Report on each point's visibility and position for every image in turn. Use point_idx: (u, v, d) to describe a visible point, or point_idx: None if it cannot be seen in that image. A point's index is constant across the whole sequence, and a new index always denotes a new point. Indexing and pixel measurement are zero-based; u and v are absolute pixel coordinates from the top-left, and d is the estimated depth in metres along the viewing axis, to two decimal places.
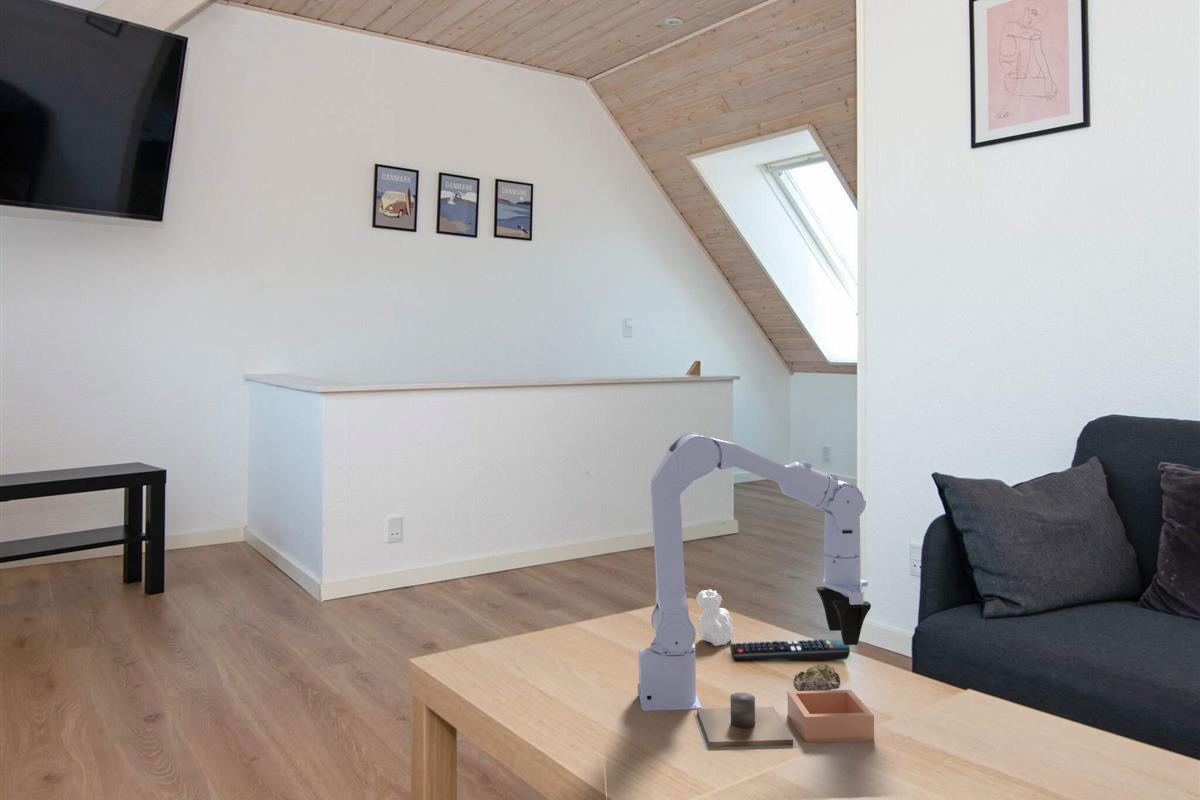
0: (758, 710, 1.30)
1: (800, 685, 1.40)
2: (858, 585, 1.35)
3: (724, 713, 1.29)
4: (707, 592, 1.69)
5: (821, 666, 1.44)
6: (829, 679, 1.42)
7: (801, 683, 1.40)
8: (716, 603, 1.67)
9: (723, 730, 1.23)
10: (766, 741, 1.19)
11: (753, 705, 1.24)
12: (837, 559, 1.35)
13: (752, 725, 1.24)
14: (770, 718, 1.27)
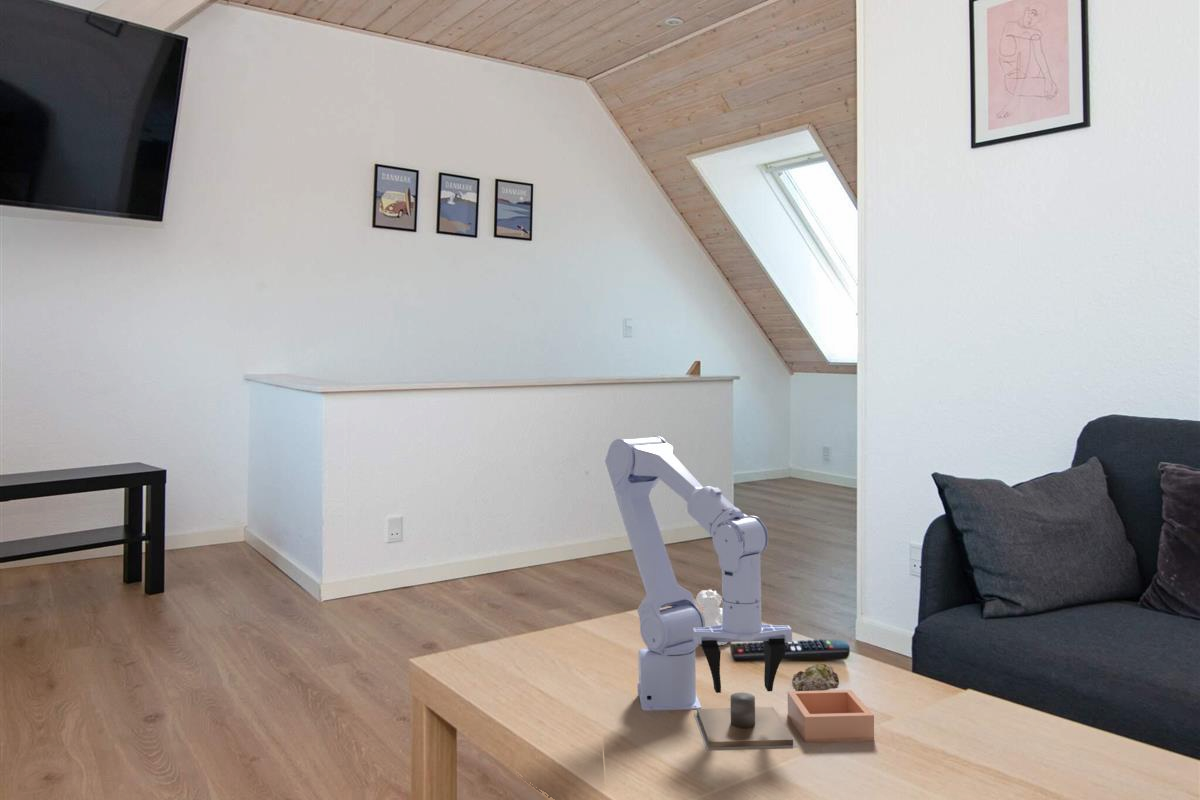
0: (758, 710, 1.30)
1: (798, 685, 1.40)
2: (727, 633, 1.23)
3: (724, 713, 1.29)
4: (707, 592, 1.69)
5: (820, 665, 1.44)
6: (828, 679, 1.43)
7: (799, 683, 1.40)
8: (716, 603, 1.67)
9: (723, 730, 1.23)
10: (766, 741, 1.19)
11: (753, 705, 1.24)
12: (723, 598, 1.26)
13: (752, 725, 1.24)
14: (770, 718, 1.27)
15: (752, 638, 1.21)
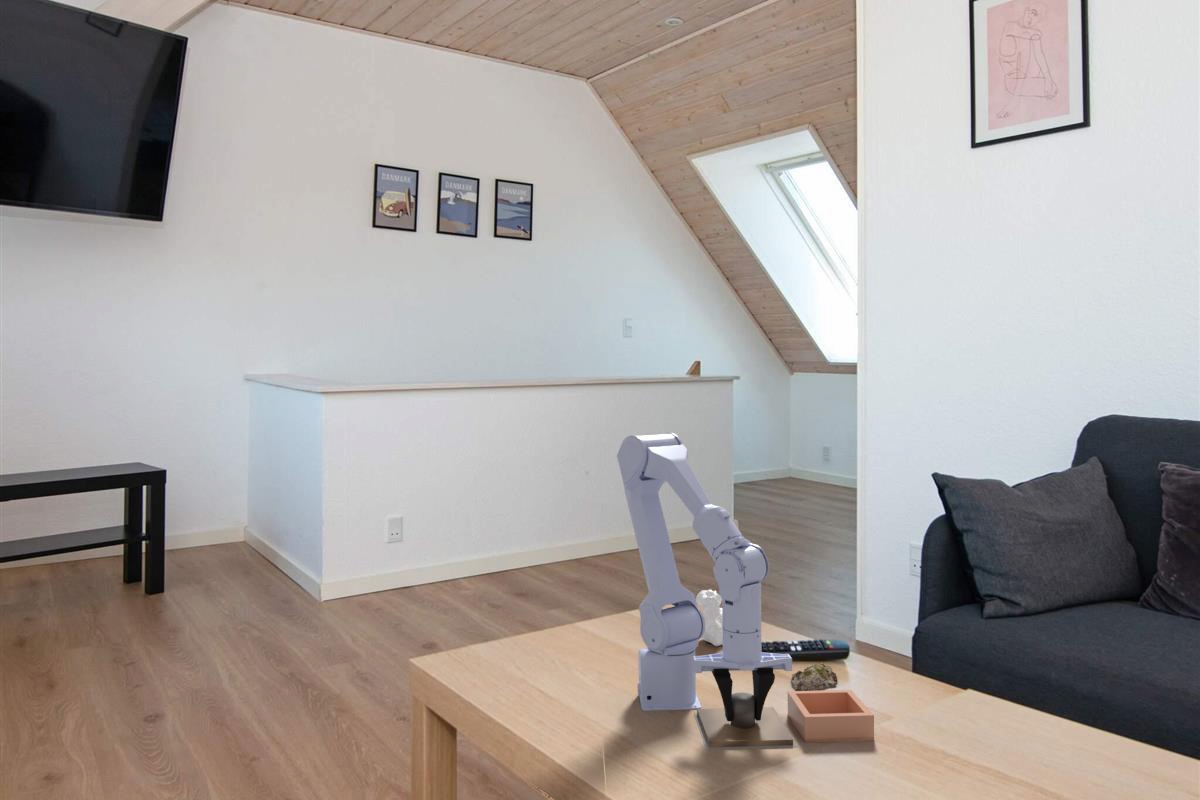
0: None
1: (797, 684, 1.40)
2: (728, 662, 1.23)
3: (724, 713, 1.29)
4: (707, 592, 1.69)
5: (818, 665, 1.44)
6: (826, 678, 1.43)
7: (798, 682, 1.40)
8: (716, 603, 1.67)
9: (723, 730, 1.23)
10: (766, 741, 1.19)
11: (753, 705, 1.24)
12: None
13: (752, 725, 1.24)
14: (770, 718, 1.27)
15: (752, 668, 1.21)
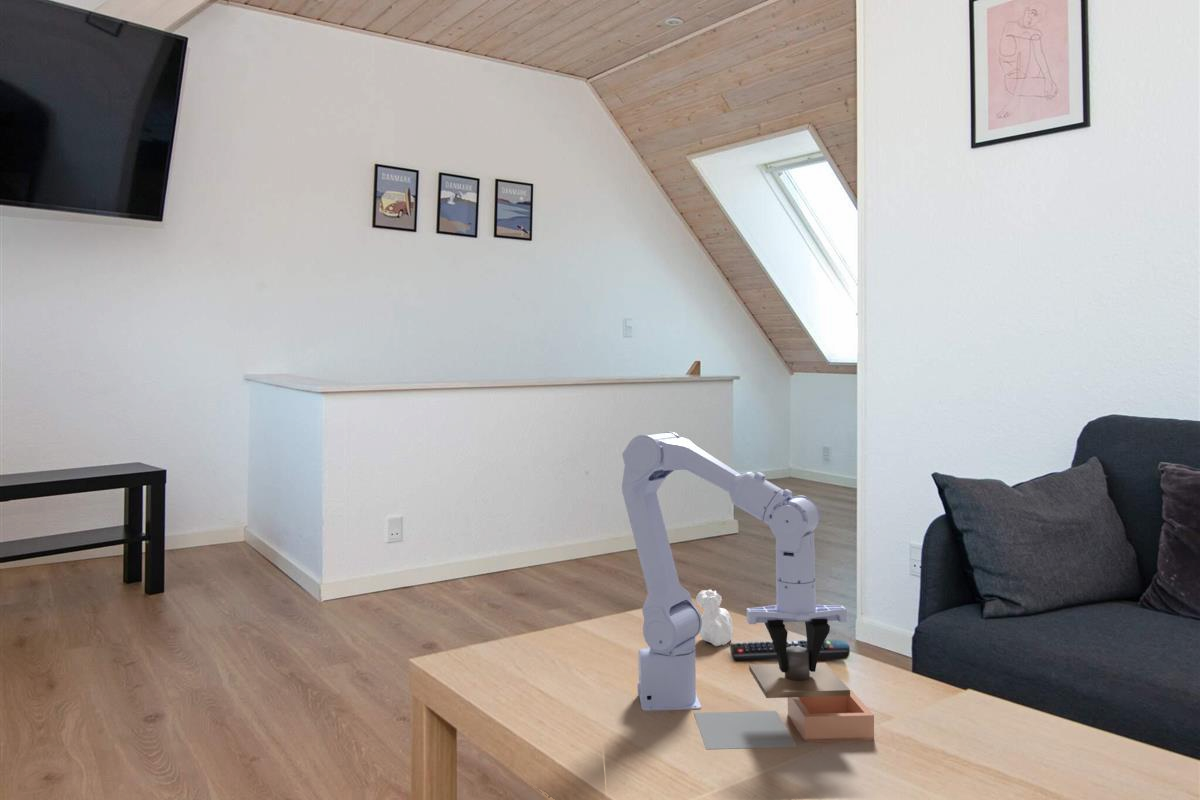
0: None
1: None
2: (782, 613, 1.23)
3: (777, 668, 1.29)
4: (707, 592, 1.69)
5: None
6: None
7: None
8: (716, 603, 1.67)
9: (778, 682, 1.23)
10: (823, 691, 1.19)
11: (808, 658, 1.24)
12: None
13: (807, 678, 1.24)
14: (824, 672, 1.27)
15: (808, 617, 1.21)
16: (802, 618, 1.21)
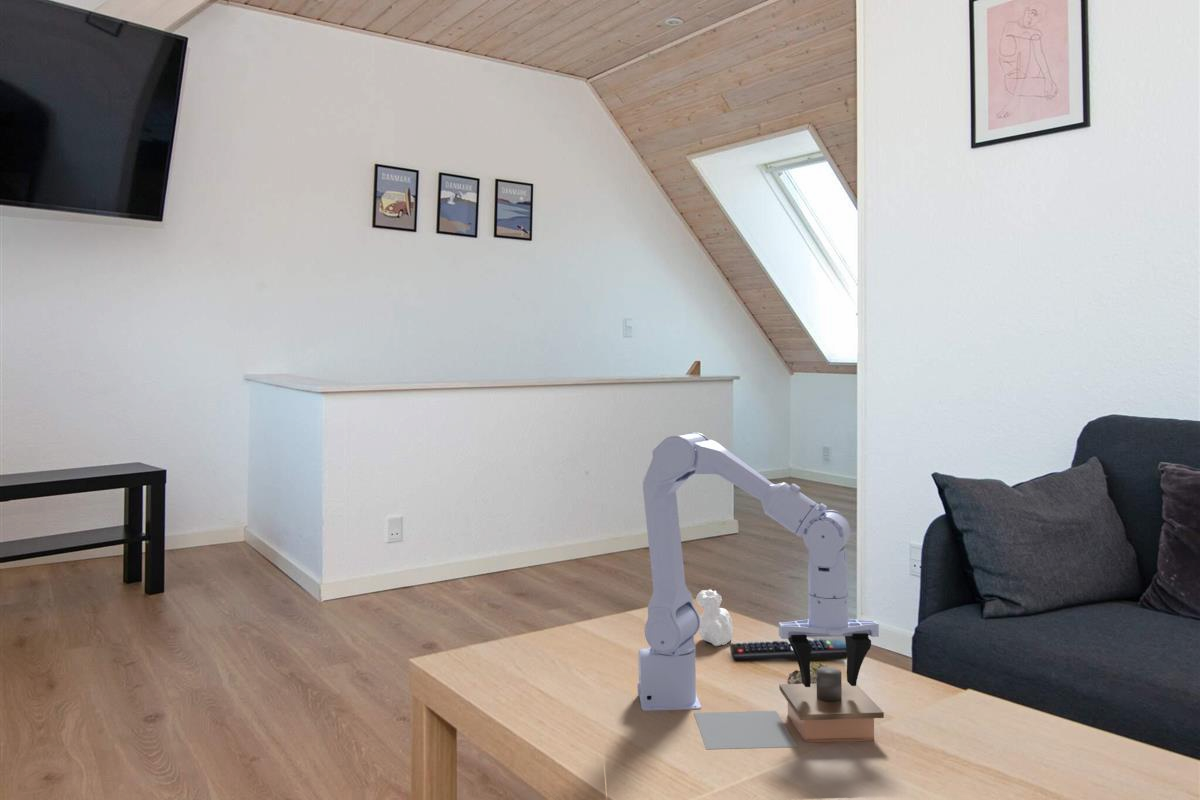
0: None
1: (793, 683, 1.41)
2: (815, 627, 1.23)
3: (807, 688, 1.29)
4: (707, 592, 1.69)
5: (815, 664, 1.44)
6: None
7: (794, 681, 1.41)
8: (716, 603, 1.67)
9: (811, 704, 1.23)
10: (857, 714, 1.19)
11: (840, 679, 1.24)
12: None
13: (839, 699, 1.24)
14: (855, 692, 1.27)
15: (841, 633, 1.21)
16: (835, 633, 1.21)
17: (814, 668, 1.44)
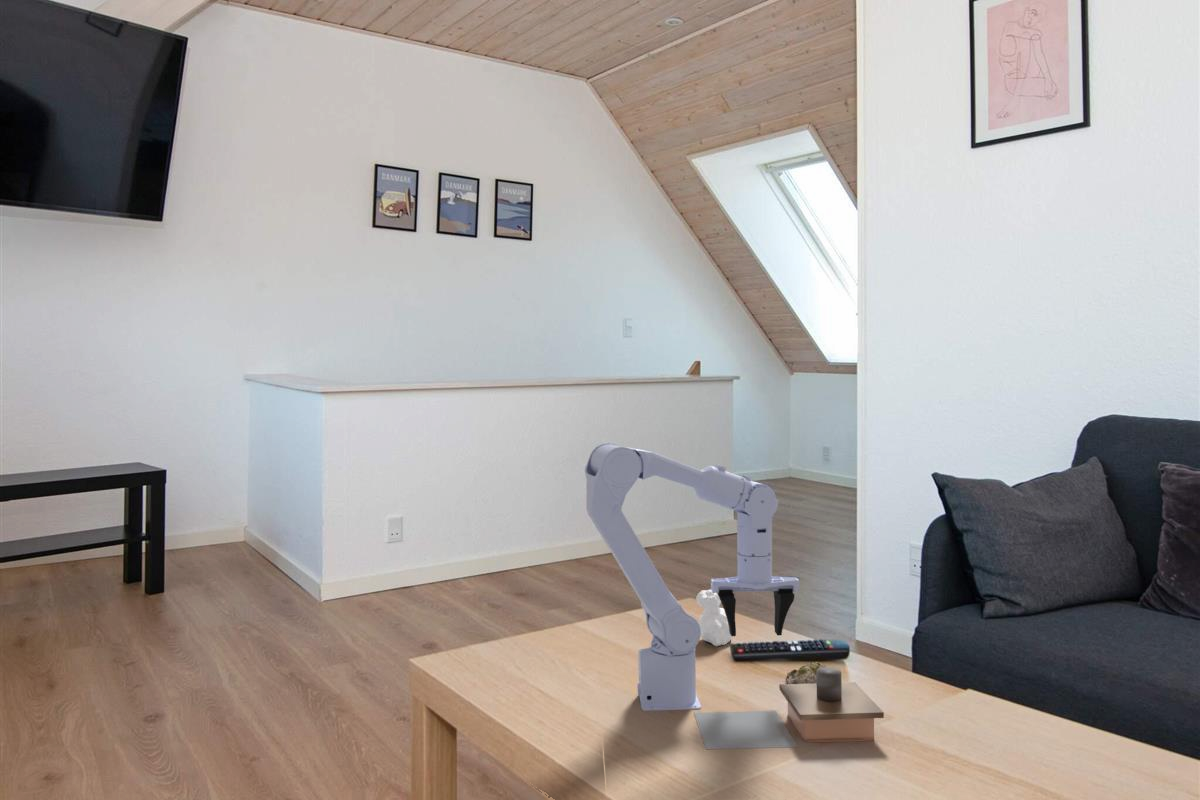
0: None
1: (791, 683, 1.41)
2: (742, 583, 1.38)
3: (807, 688, 1.29)
4: (707, 592, 1.69)
5: (813, 664, 1.45)
6: None
7: (793, 681, 1.41)
8: (716, 603, 1.67)
9: (811, 704, 1.23)
10: (857, 714, 1.19)
11: (840, 679, 1.24)
12: None
13: (839, 699, 1.24)
14: (855, 692, 1.27)
15: (764, 587, 1.36)
16: (759, 587, 1.36)
17: (812, 668, 1.44)
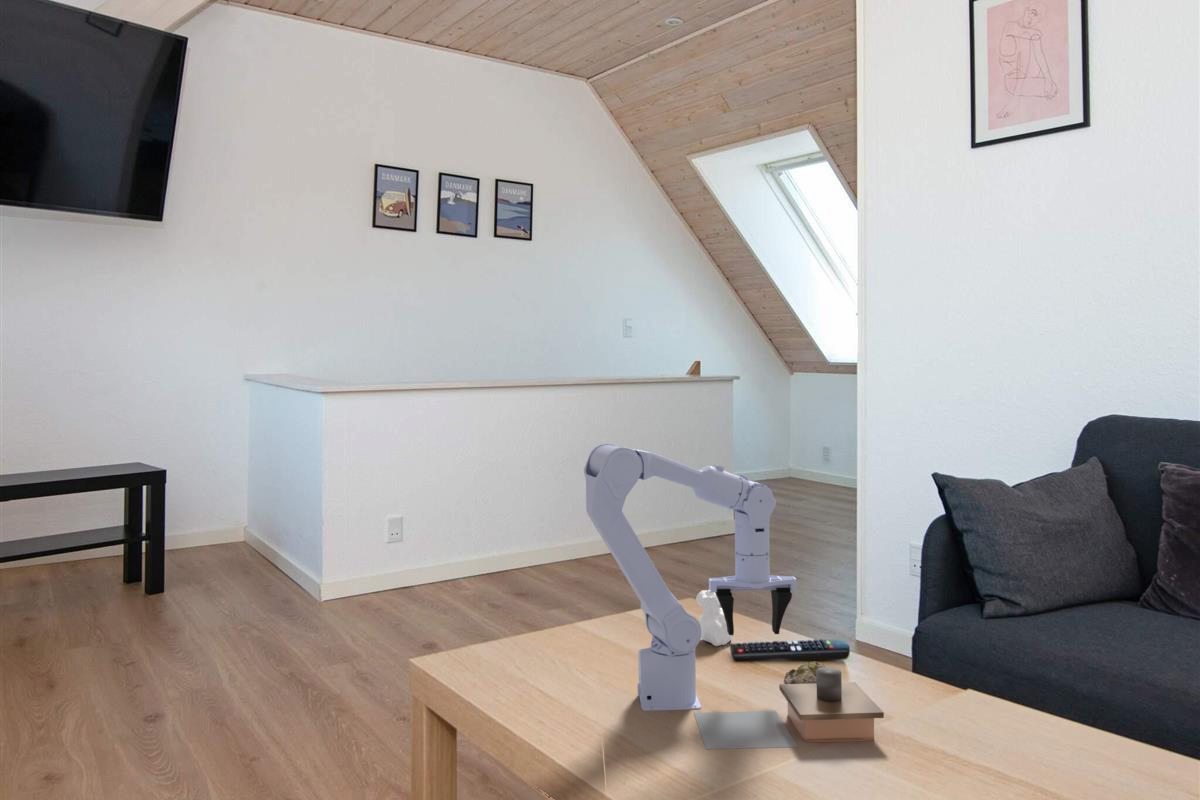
0: None
1: (790, 682, 1.41)
2: (740, 582, 1.39)
3: (807, 688, 1.29)
4: (707, 592, 1.69)
5: (811, 664, 1.45)
6: None
7: (791, 681, 1.41)
8: (716, 603, 1.67)
9: (811, 704, 1.23)
10: (857, 714, 1.19)
11: (840, 679, 1.24)
12: (736, 552, 1.42)
13: (839, 699, 1.24)
14: (855, 692, 1.27)
15: (762, 586, 1.37)
16: (757, 586, 1.37)
17: (810, 667, 1.44)
